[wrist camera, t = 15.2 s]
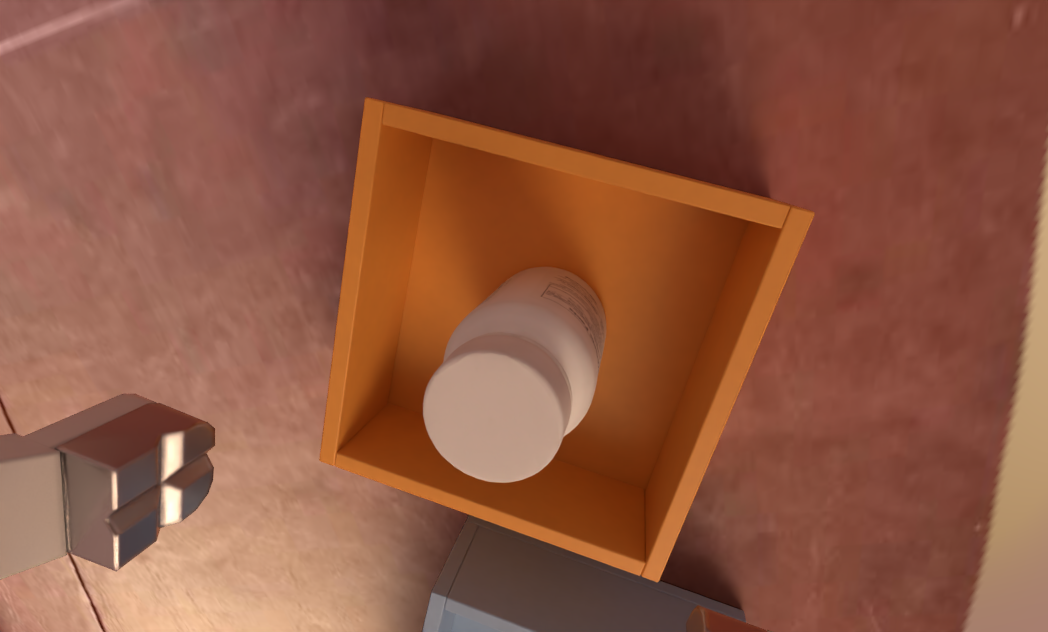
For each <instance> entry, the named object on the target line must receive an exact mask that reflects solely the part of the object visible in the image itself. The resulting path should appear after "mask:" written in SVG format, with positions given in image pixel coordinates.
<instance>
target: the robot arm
mask: <svg viewBox="0 0 1048 632" xmlns="http://www.w3.org/2000/svg"><path fill="white" fill-rule="evenodd" d="M214 446H215V428H214V427H212V426H211V425H210V424H209V423H208V422H205V421H203V420H200V419H198V418H195V417H193V416H190V415H188V414H186V413H183V412H181V411H178V410H176V409H173V408H171V407H168V406H166V405H163V404H161V403H156V402H154V401H152V400H149V399H147V398H144V397H142V396H139V395H137V394H121V395H119V396H116V397H114V398H112V399H109V400H107V401H105V402H102V403H100V404H98V405H95V406H93V407H91V408H88V409H86V410H84V411H81V412H79V413H77V414H74V415H72V416H70V417H67V418H65V419H63V420H60V421H58V422H56V423H54V424H51V425H49V426H47V427H44V428H42V429H40V430H37V431H35V432H33V433H30V434H28V435H26V436H20V435H17V434H15V433H14V434H7V435H0V580H1V579H4V578H7V577H9V576H12V575H15V574H17V573H20V572H23V571H26V570H28V569H31V568H34V567H36V566H39V565H42V564H45V563H47V562H50V561H53V560H55V559H58V558H61V557H64V556H66V555H67V552H68V553H71V554H73V555H76V556H79V557H81V558H84V559H86V560H89V561H91V562H94V563H96V564H99V565H102V566H104V567H107V568H109V569H112V570H114V571H117V570H119V569H120V568H121V567H123V566H124V565H125V564H127V563H128V562H129V561H131V560H132V559H133V558H134V557H136V556H137V555H138V554H140V553H141V552H142V551H144V550H145V549H146V548H148V547H149V546H150V545H152V544H153V543H154V542H156V541H157V537H158V534H159V531H160V528H162V527H165V526H169V525H172V524H176V523H179V522H182V521H183V520H184V519H185V518H187V517H188V516H189V515H190V514H192V513H193V512H194V511H195V510H196V509H197V508H198V507H199V505H200V504H201V503H202V501H203V500H204V498H205V497H206V496H207V494H208V492H209V489H210V487H211V484H212V481H213V471H214V467H213V465H212V463H211V461H210V459H209V457H208V455H207V452H208V451H209V450H211V449H212V448H213V447H214ZM686 632H772V631H769V630H768V631H766V630H764V629H762V628H759V627H757V626H754V625H751V624H748V623H746V622H743V621H740V620H737V619H735V618H732V617H729V616H726V615H724V614H721V613H718V612H715V611H713V610H710V609H707V608H704V607H702V606H699V605H697V606H696V607H695V608H694V610H693V611H692V612H691V614H690V616H689V618H688V620H687V622H686Z"/></svg>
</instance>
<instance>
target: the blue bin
mask: <svg viewBox="0 0 1048 632" xmlns="http://www.w3.org/2000/svg"><path fill="white" fill-rule="evenodd" d="M697 605H699V606H702V607H704V608H707V609H710V610H713V611H715V612H718V613H721V614H724V615H726V616H729V617H732V618H735V619H737V620H740V621H743V622H746V619H745V614H744V611H743V610H740V609H737V608H734V607H732V606H729V605H726V604H723V603H720V602H718V601H715V600H712V599H709V598H707V597H704V596H701V595H698V594H695V593H693V592H690V591H687V590H684V589H682V588H679V587H676V586H673V585H670V584H668V583H665V582H662V581H659V582H655V581H652V580H649V579H647V578H644V577H642V576H641V575H640V576H638V575H636V574H633V573H630V572H627V571H624V570H622V569H619V568H616V567H613V566H611V565H608V564H605V563H602V562H599V561H597V560H594V559H591V558H588V557H586V556H583V555H580V554H577V553H574V552H572V551H569V550H566V549H563V548H561V547H558V546H555V545H552V544H549V543H547V542H544V541H541V540H538V539H536V538H533V537H530V536H527V535H524V534H522V533H519V532H516V531H513V530H511V529H508V528H505V527H502V526H499V525H497V524H494V523H491V522H488V521H486V520H483V519H480V518H477V517H474V516H472V515H469V516H468V518H467V520H466V522H465V524H464V526H463V528H462V530H461V532H460V534H459V536H458V538H457V540H456V542H455V544H454V546H453V548H452V551H451V553H450V555H449V557H448V559H447V561H446V563H445V565H444V567H443V569H442V571H441V573H440V575H439V577H438V579H437V581H436V583H435V585H434V587H433V589H432V591H431V596H430V600H429V604H428V608H427V613H426V617H425V621H424V625H423V630H422V632H686V622H687V620H688V618H689V616H690V614H691V612H692V611H693V610H694V608H695V607H696V606H697Z"/></svg>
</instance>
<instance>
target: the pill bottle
mask: <svg viewBox="0 0 1048 632" xmlns="http://www.w3.org/2000/svg"><path fill="white" fill-rule="evenodd" d="M605 338H606V317H605V313H604V309H603V307H602V304H601V302H600V300H599V298H598V297H597V295H596V293H595V292H594V291H593V290H592V288H591V287H590V286H589V285H588V284H587V283H586V282H585V281H583V280H582V279H581V278H579V277H578V276H577V275H575V274H573V273H571V272H569V271H566V270H563V269H559V268H555V267H535V268H530V269H526V270H523V271H521V272H519V273H517V274H515V275H513V276H512V277H510V278H509V279H507V280H506V281H505V282H504V283H503V284H501V285H500V286H499V287H498V288H497V289H496V290H495V291H494V292H493V293H492V294H491V295H490V296H489V297H488V298H487V299H485V300H484V301H483V302H482V303H481V304H480V305H478V306H477V307H476V308H475V309H474V310H473V311H472V312H470V313H469V314H468V315H467V316H466V317H465V318H464V319H463V320H462V322H461V323H460V324H459V325H458V326H457V328H456V329H455V330H454V332H453V334H452V335H451V337H450V339H449V341H448V344H447V347H446V350H445V355H444V361H443V363H442V365H441V366H440V367H439V368H438V369H437V370H436V372H435V373H434V374H433V376H432V377H431V379H430V381H429V383H428V385H427V387H426V391H425V395H424V401H423V418H424V422H425V426H426V430H427V432H428V435H429V437H430V439H431V440H432V442H433V444H434V446H435V447H436V449H437V450H438V451H439V453H440V454H441V455H442V456H443V457H444V458H445V459H446V460H447V461H448V462H449V463H451V464H452V465H453V466H454V467H456V468H457V469H459V470H460V471H462V472H463V473H465V474H467V475H470V476H472V477H475V478H477V479H481V480H485V481H488V482H502V483H507V482H515V481H519V480H523V479H525V478H528V477H530V476H532V475H534V474H536V473H538V472H540V471H541V470H542V469H543V468H544V467H545V466H547V465H548V463H549V462H550V461H551V460H552V459H553V457H554V456H555V454H556V453H557V451H558V449H559V447H560V445H561V442H562V439H563V437H564V436H565V435H567V434H568V433H570V432H571V431H572V430H573V429H574V428H575V427H576V426H577V425H578V424H579V423H580V422H581V420H582V419H583V418H584V416H585V415H586V413H587V412H588V410H589V407H590V405H591V403H592V399H593V396H594V393H595V389H596V384H597V378H598V373H599V368H600V363H601V358H602V354H603V349H604V343H605Z"/></svg>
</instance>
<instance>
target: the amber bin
mask: <svg viewBox="0 0 1048 632" xmlns="http://www.w3.org/2000/svg"><path fill="white" fill-rule="evenodd" d="M814 215H815V213H814V212H813V211H810V210H807V209H804V208H800V207H797V206H794V205H791V204H787V203H784V202H781V201H777V200H774V199H771V198H767V197H763V196H759V195H755V194H751V193H747V192H743V191H739V190H735V189H732V188H728V187H724V186H720V185H716V184H712V183H708V182H704V181H700V180H696V179H692V178H688V177H685V176H681V175H677V174H673V173H669V172H665V171H661V170H657V169H653V168H649V167H645V166H641V165H638V164H634V163H630V162H626V161H622V160H618V159H614V158H610V157H606V156H602V155H598V154H595V153H591V152H587V151H583V150H579V149H575V148H571V147H567V146H563V145H559V144H555V143H551V142H548V141H544V140H540V139H536V138H532V137H528V136H524V135H520V134H516V133H512V132H508V131H505V130H501V129H497V128H493V127H489V126H485V125H481V124H477V123H473V122H469V121H465V120H461V119H458V118H454V117H450V116H446V115H442V114H438V113H434V112H430V111H426V110H421V109H417V108H413V107H408V106H404V105H399V104H395V103H391V102H386V101H382V100H377V99H373V98H369V97H366V98H365V101H364V109H363V117H362V125H361V133H360V141H359V149H358V157H357V165H356V173H355V181H354V189H353V197H352V205H351V213H350V221H349V229H348V237H347V244H346V252H345V260H344V268H343V276H342V284H341V292H340V300H339V308H338V316H337V324H336V332H335V340H334V348H333V356H332V364H331V372H330V380H329V388H328V396H327V404H326V412H325V420H324V427H323V435H322V443H321V451H320V459H319V460H320V461H322V462H324V463H327V464H330V465H333V466H334V465H335V466H336V467H338V468H341V469H344V470H347V471H349V472H352V473H355V474H358V475H361V476H363V477H366V478H369V479H372V480H374V481H377V482H380V483H383V484H386V485H388V486H391V487H394V488H397V489H399V490H402V491H405V492H408V493H411V494H413V495H416V496H419V497H422V498H424V499H427V500H430V501H433V502H436V503H438V504H441V505H444V506H447V507H449V508H452V509H455V510H458V511H461V512H463V513H466V514H469V515H472V516H474V517H477V518H480V519H483V520H486V521H488V522H491V523H494V524H497V525H499V526H502V527H505V528H508V529H511V530H513V531H516V532H519V533H522V534H524V535H527V536H530V537H533V538H536V539H538V540H541V541H544V542H547V543H549V544H552V545H555V546H558V547H561V548H563V549H566V550H569V551H572V552H574V553H577V554H580V555H583V556H586V557H588V558H591V559H594V560H597V561H599V562H602V563H605V564H608V565H611V566H613V567H616V568H619V569H622V570H624V571H627V572H630V573H633V574H636V575H638V576H640V575H641V576H642V577H644V578H647V579H649V580H652V581H655V582H659V580H660V578H661V575H662V573H663V571H664V568H665V566H666V563H667V561H668V559H669V556H670V554H671V552H672V549H673V547H674V545H675V542H676V540H677V538H678V535H679V533H680V530H681V528H682V526H683V523H684V521H685V519H686V516H687V514H688V512H689V509H690V507H691V505H692V502H693V500H694V497H695V495H696V493H697V490H698V488H699V486H700V483H701V481H702V479H703V476H704V474H705V472H706V469H707V467H708V464H709V462H710V460H711V457H712V455H713V453H714V450H715V448H716V446H717V443H718V441H719V439H720V436H721V434H722V431H723V429H724V427H725V424H726V422H727V420H728V417H729V415H730V413H731V410H732V408H733V406H734V403H735V401H736V398H737V396H738V394H739V391H740V389H741V387H742V384H743V382H744V380H745V377H746V375H747V373H748V370H749V368H750V365H751V363H752V361H753V358H754V356H755V354H756V351H757V349H758V347H759V344H760V342H761V340H762V337H763V335H764V332H765V330H766V328H767V325H768V323H769V321H770V318H771V316H772V314H773V311H774V309H775V307H776V304H777V302H778V299H779V297H780V295H781V292H782V290H783V288H784V285H785V283H786V281H787V278H788V276H789V274H790V271H791V269H792V267H793V264H794V262H795V259H796V257H797V255H798V252H799V250H800V248H801V245H802V243H803V241H804V238H805V236H806V234H807V231H808V229H809V226H810V224H811V222H812V219H813V217H814ZM535 267H555V268H559V269H563V270H566V271H569V272H571V273H573V274H575V275H577V276H578V277H579V278H581V279H582V280H583V281H585V282H586V283H587V284H588V285H589V286H590V287H591V288H592V290H593V291H594V292H595V293H596V295H597V297H598V298H599V300H600V302H601V304H602V307H603V309H604V313H605V317H606V338H605V343H604V349H603V354H602V358H601V363H600V368H599V373H598V378H597V384H596V389H595V393H594V396H593V399H592V403H591V405H590V407H589V410H588V412H587V413H586V415H585V416H584V418H583V419H582V420H581V422H580V423H579V424H578V425H577V426H576V427H575V428H574V429H573V430H572V431H571V432H570V433H568V434H567V435H565V436H564V437H563V439H562V442H561V445H560V447H559V449H558V451H557V453H556V454H555V456H554V457H553V459H552V460H551V461H550V462H549V463H548V465H547V466H545V467H544V468H543V469H542V470H541V471H540V472H538V473H536V474H534V475H532V476H530V477H528V478H525V479H523V480H519V481H515V482H507V483H502V482H488V481H485V480H481V479H477V478H475V477H472V476H470V475H467V474H465V473H463V472H462V471H460V470H459V469H457V468H456V467H454V466H453V465H452V464H451V463H449V462H448V461H447V460H446V459H445V458H444V457H443V456H442V455H441V454H440V453H439V451H438V450H437V449H436V447H435V446H434V444H433V442H432V440H431V439H430V437H429V435H428V432H427V430H426V426H425V422H424V418H423V401H424V395H425V391H426V387H427V385H428V383H429V381H430V379H431V377H432V376H433V374H434V373H435V372H436V370H437V369H438V368H439V367H440V366H441V365H442V363H443V361H444V355H445V350H446V347H447V344H448V341H449V339H450V337H451V335H452V334H453V332H454V330H455V329H456V328H457V326H458V325H459V324H460V323H461V322H462V320H463V319H464V318H465V317H466V316H467V315H468V314H469V313H470V312H472V311H473V310H474V309H475V308H476V307H477V306H478V305H480V304H481V303H482V302H483V301H484V300H485V299H487V298H488V297H489V296H490V295H491V294H492V293H493V292H494V291H495V290H496V289H497V288H498V287H499V286H500V285H501V284H503V283H504V282H505V281H506V280H507V279H509V278H510V277H512V276H513V275H515V274H517V273H519V272H521V271H523V270H526V269H530V268H535Z"/></svg>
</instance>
